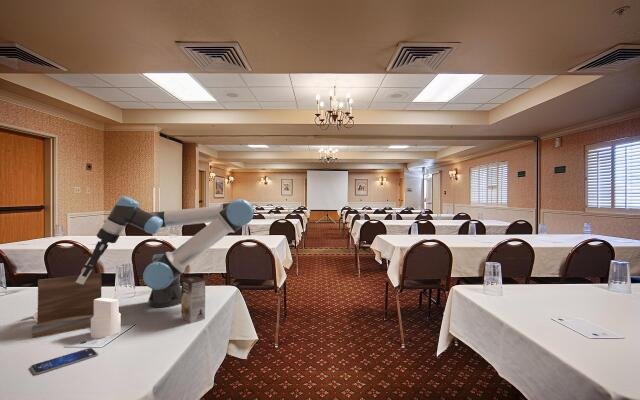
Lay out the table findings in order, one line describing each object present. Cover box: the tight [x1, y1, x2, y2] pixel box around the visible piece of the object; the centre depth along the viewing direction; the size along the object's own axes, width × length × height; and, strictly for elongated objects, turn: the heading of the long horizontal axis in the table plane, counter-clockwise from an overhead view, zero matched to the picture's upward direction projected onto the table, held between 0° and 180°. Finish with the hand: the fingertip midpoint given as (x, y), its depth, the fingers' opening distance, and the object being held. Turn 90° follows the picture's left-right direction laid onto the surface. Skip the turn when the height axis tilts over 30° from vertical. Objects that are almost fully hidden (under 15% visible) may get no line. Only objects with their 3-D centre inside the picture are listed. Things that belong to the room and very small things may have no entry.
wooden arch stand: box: [31, 272, 102, 339], centre depth 122 cm, size 14×20×18 cm
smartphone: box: [29, 347, 99, 376], centre depth 94 cm, size 7×1×15 cm
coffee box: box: [180, 275, 206, 324], centre depth 129 cm, size 9×6×16 cm
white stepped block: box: [90, 297, 122, 339], centre depth 115 cm, size 9×9×12 cm
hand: (82, 277), depth 130 cm, fingers open, 13 cm apart
